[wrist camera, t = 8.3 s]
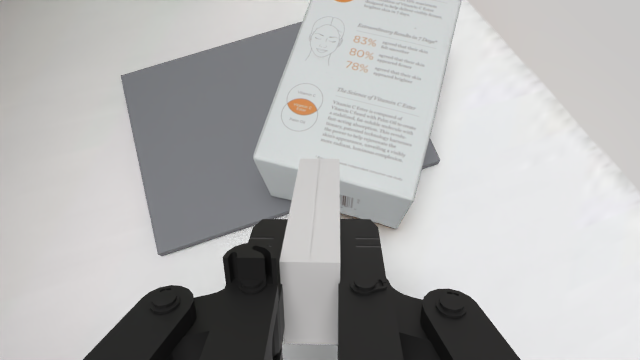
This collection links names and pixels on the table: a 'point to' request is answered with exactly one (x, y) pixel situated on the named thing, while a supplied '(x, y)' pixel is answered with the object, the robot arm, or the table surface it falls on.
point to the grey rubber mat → (209, 138)
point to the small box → (360, 100)
